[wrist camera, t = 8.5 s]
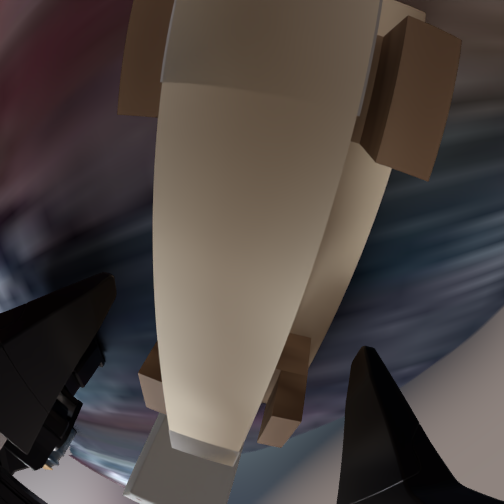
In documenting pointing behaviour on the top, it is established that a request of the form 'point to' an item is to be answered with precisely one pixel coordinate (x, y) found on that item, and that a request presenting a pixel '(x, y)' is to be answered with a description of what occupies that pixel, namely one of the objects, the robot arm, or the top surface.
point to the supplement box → (177, 473)
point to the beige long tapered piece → (351, 182)
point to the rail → (245, 194)
